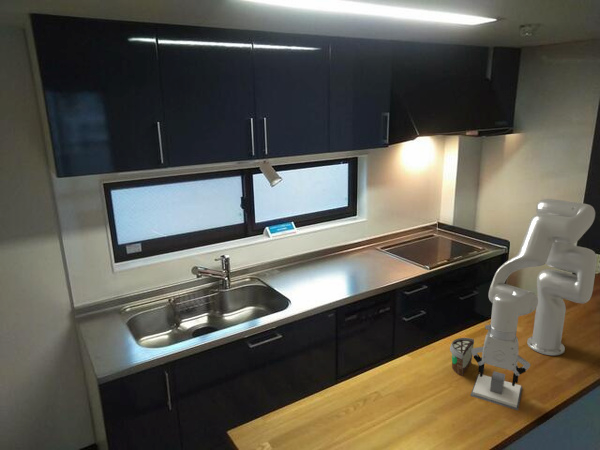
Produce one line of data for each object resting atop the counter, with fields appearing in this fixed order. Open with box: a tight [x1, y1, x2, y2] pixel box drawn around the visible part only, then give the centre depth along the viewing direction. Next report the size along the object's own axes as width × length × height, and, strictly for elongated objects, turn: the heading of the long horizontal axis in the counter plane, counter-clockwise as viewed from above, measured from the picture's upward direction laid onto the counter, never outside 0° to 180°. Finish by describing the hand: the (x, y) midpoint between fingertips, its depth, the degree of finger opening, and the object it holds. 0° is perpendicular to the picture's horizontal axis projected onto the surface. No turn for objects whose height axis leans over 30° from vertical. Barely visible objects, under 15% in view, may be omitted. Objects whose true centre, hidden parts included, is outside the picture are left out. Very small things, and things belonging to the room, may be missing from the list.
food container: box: [449, 337, 475, 377], centre depth 152 cm, size 12×6×10 cm, turn 141°
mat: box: [470, 373, 523, 411], centre depth 140 cm, size 13×14×1 cm
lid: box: [472, 370, 522, 408], centre depth 139 cm, size 11×13×6 cm
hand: (497, 379), depth 138 cm, fingers open, 9 cm apart
